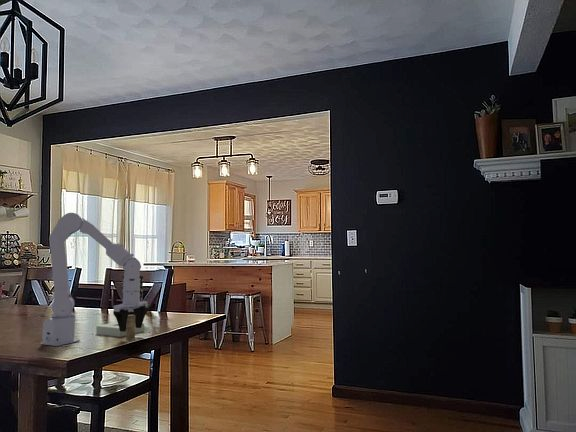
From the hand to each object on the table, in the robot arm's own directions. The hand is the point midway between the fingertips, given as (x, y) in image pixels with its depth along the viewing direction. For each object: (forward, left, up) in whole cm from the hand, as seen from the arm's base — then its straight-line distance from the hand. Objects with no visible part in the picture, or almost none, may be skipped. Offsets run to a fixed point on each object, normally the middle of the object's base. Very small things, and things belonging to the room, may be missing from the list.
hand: (130, 329), depth 166 cm
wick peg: (0, 0, -3) cm, 3 cm away
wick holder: (+6, +11, -3) cm, 13 cm away
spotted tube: (+24, +23, -3) cm, 33 cm away
